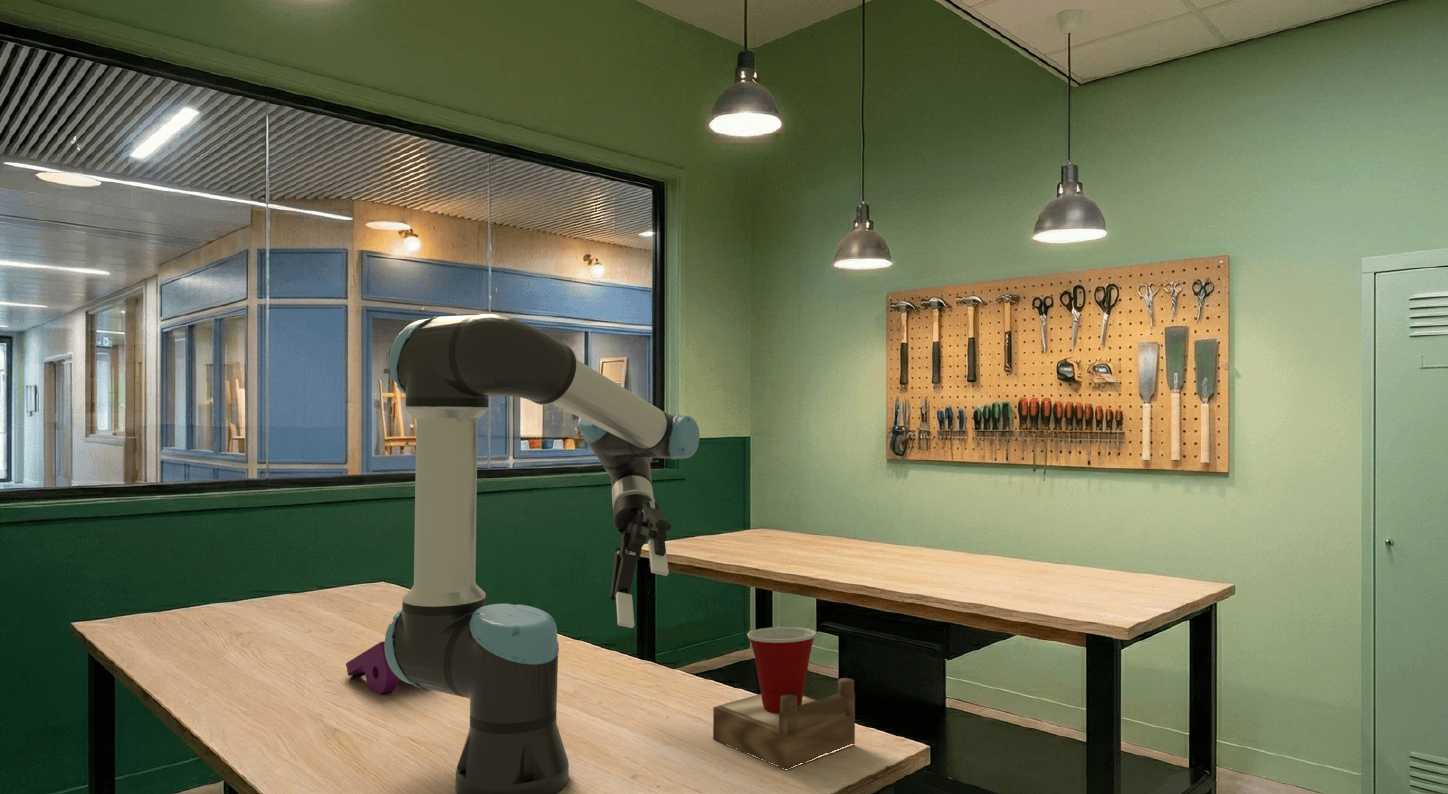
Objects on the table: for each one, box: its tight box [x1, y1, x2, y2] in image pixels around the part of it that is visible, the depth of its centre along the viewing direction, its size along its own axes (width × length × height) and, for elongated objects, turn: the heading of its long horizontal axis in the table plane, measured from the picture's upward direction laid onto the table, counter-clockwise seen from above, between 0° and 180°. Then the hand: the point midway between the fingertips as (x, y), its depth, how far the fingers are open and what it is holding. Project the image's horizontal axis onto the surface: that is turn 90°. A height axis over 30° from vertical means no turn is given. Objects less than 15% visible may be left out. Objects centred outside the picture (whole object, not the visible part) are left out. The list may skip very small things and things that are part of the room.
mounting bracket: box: [345, 640, 413, 696], centre depth 167 cm, size 9×8×18 cm
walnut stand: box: [712, 677, 856, 770], centre depth 137 cm, size 16×15×10 cm
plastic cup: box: [746, 626, 817, 714], centre depth 138 cm, size 11×11×12 cm
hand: (642, 600), depth 144 cm, fingers open, 13 cm apart
